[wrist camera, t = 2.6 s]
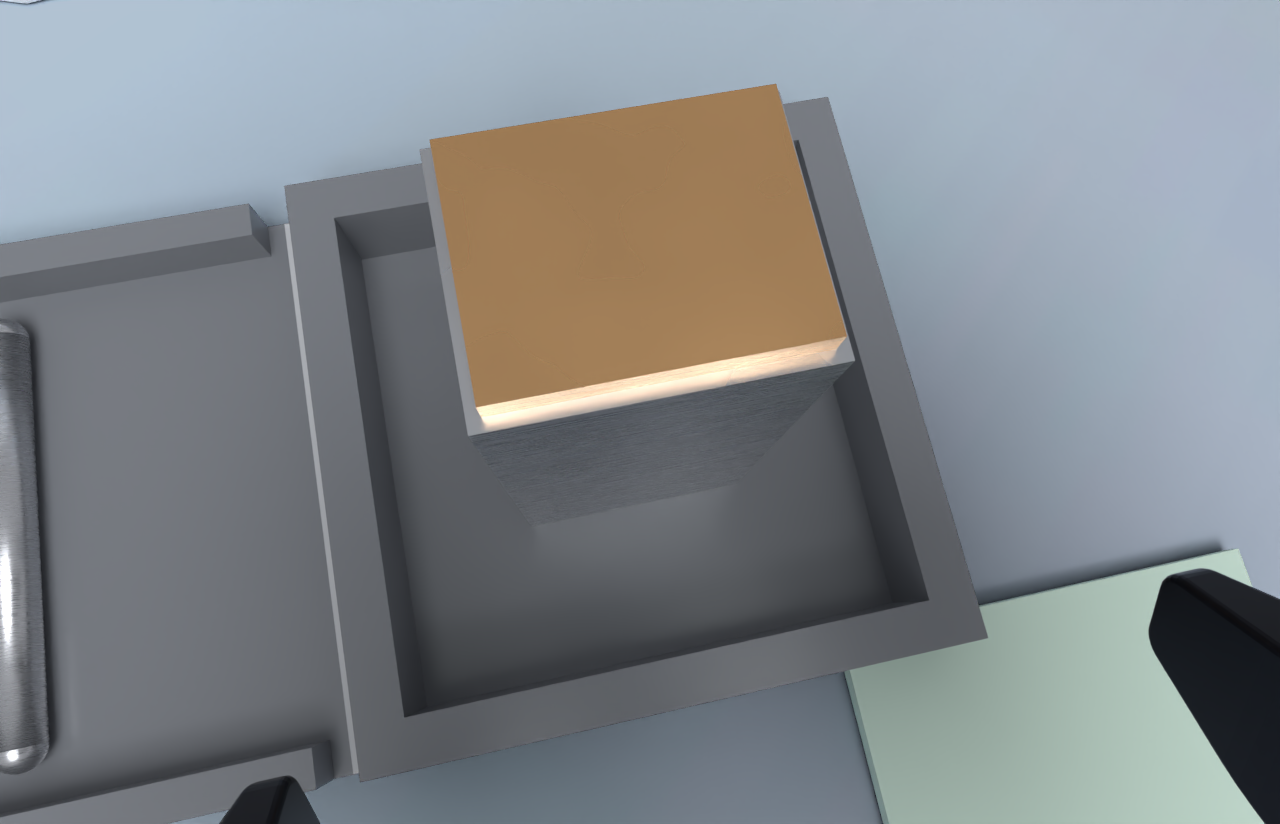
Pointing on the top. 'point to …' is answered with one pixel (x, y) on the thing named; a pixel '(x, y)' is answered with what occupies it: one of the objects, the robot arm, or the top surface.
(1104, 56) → the top surface
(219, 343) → the grey compartment tray
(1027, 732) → the mat
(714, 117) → the block
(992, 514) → the top surface
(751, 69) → the top surface
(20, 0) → the white cup
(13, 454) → the rod
